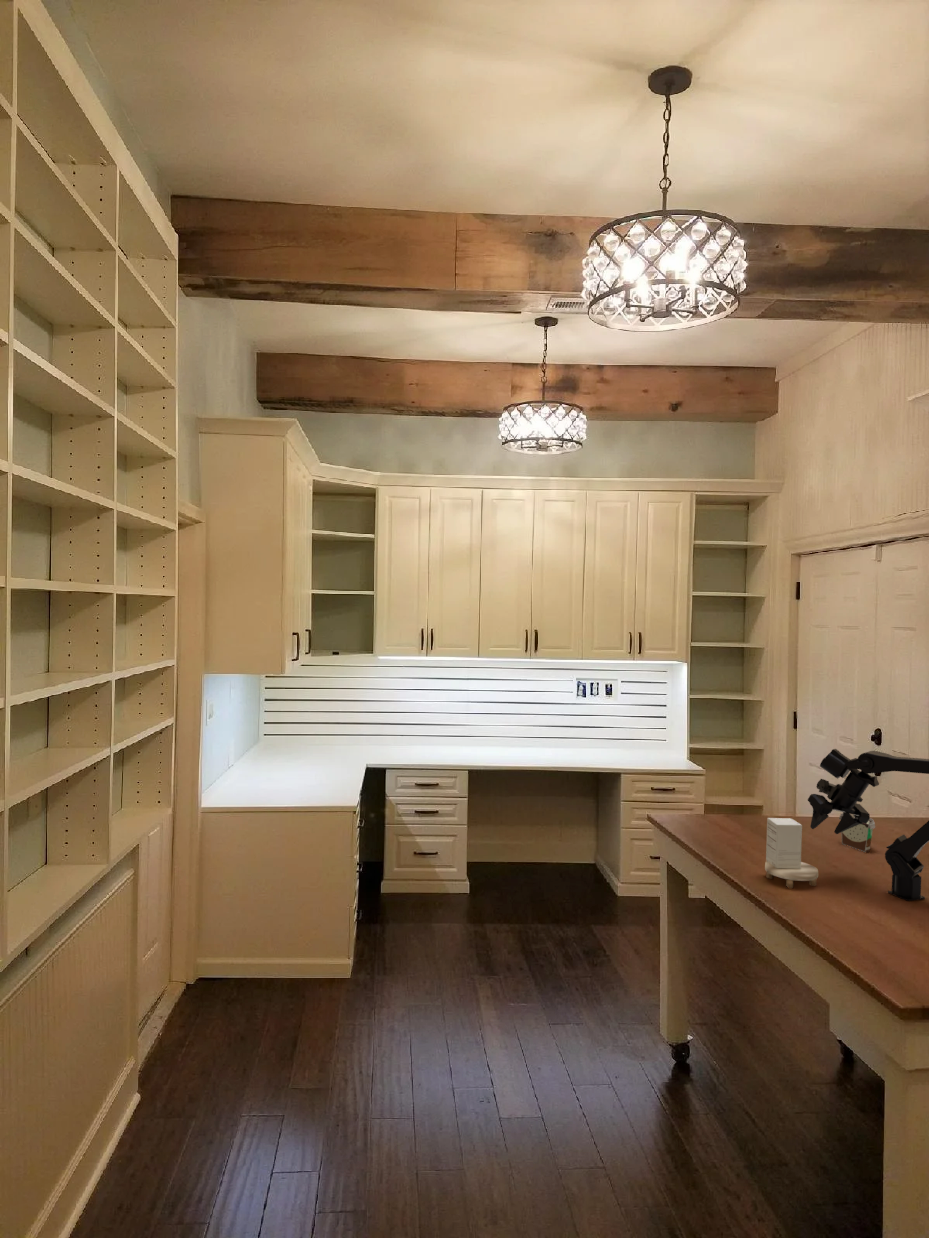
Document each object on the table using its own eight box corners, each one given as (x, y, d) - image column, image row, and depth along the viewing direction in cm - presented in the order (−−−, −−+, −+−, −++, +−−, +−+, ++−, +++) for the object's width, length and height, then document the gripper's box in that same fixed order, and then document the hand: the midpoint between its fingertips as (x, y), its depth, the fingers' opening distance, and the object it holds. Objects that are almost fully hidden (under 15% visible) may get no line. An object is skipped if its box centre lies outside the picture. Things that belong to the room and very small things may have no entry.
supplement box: (790, 860, 230) (791, 817, 230) (801, 869, 222) (803, 824, 222) (765, 860, 230) (766, 817, 229) (775, 868, 222) (777, 824, 222)
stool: (829, 887, 220) (829, 873, 220) (788, 891, 215) (789, 877, 215) (792, 870, 233) (793, 857, 233) (754, 874, 228) (754, 861, 228)
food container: (883, 852, 255) (884, 821, 255) (869, 853, 253) (870, 822, 252) (851, 841, 266) (852, 811, 266) (838, 842, 264) (839, 813, 264)
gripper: (858, 777, 235) (831, 817, 241) (811, 765, 229) (783, 807, 234) (883, 801, 225) (854, 842, 231) (834, 789, 219) (805, 832, 225)
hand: (823, 830), depth 230 cm, fingers open, 9 cm apart
